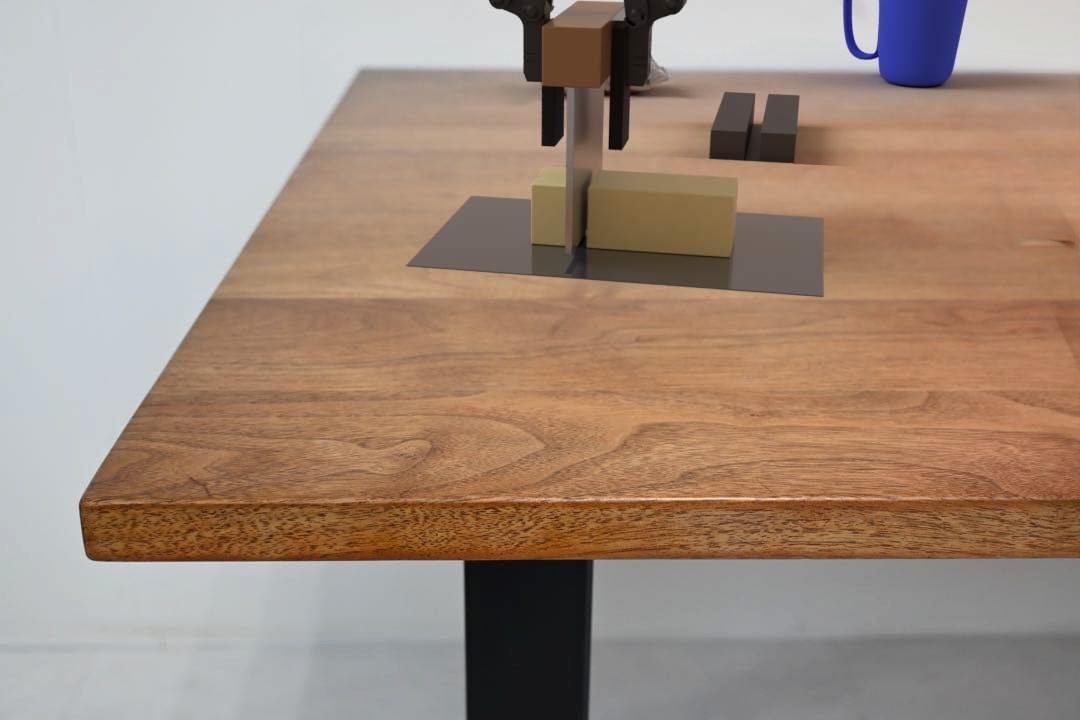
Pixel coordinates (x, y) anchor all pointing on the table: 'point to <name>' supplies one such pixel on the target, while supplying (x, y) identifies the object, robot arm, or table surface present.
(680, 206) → the butter stick
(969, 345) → the table surface
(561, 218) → the butter slice
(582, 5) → the scraper knife
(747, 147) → the knife holder
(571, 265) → the butter board
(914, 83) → the mug
